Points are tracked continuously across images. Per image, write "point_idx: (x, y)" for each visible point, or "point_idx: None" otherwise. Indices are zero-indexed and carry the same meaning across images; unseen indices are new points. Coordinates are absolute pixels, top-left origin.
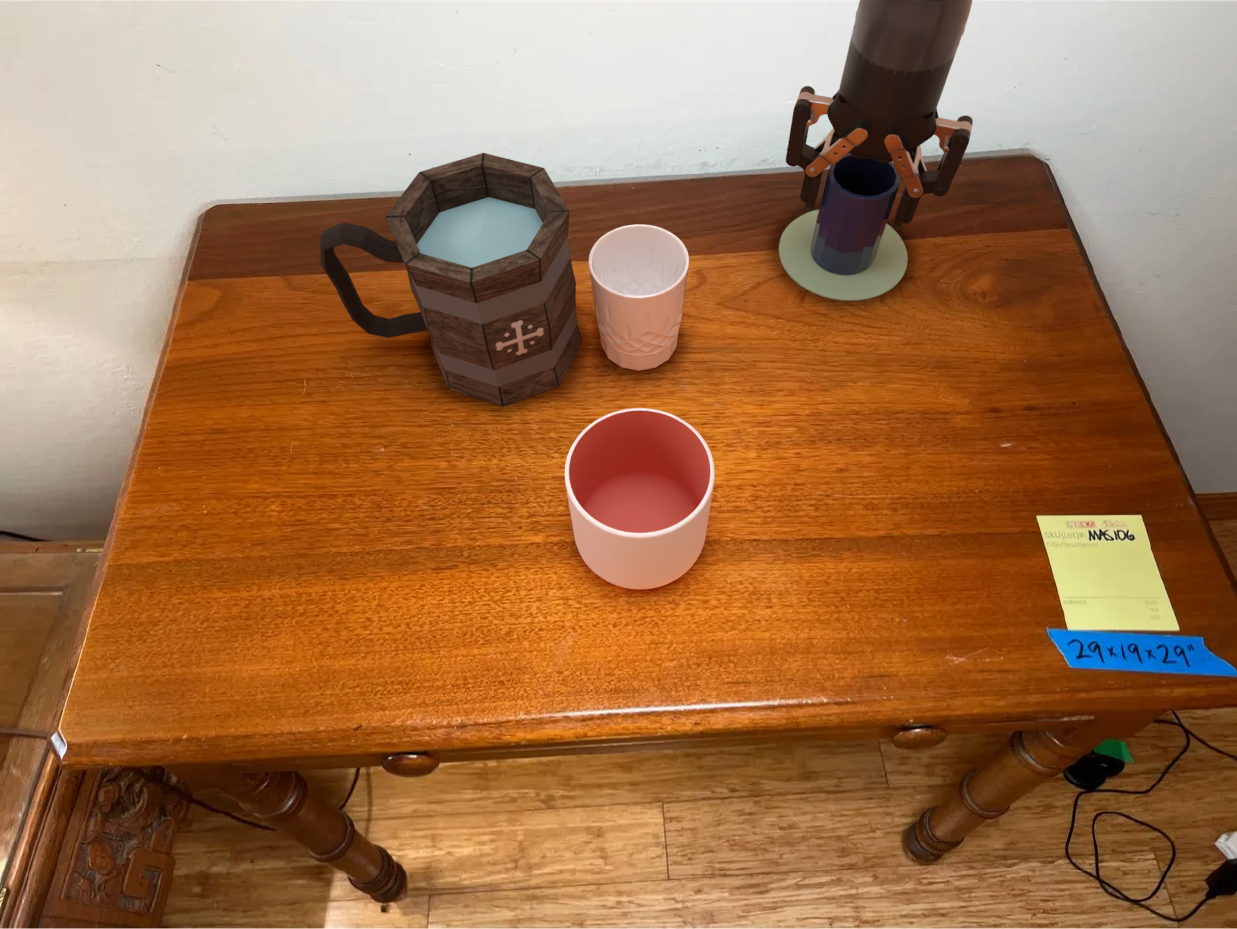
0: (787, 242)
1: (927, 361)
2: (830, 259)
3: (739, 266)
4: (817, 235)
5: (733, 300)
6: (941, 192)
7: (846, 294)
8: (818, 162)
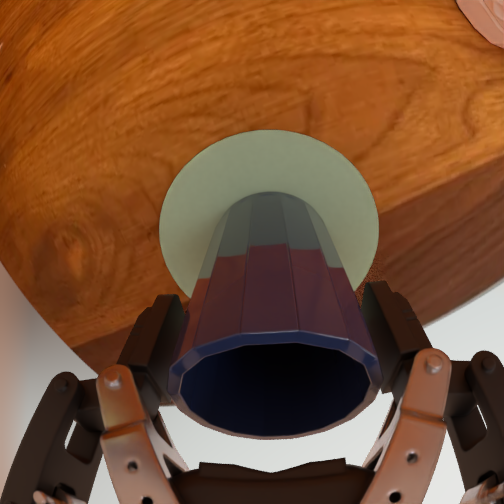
0: (366, 234)
1: (74, 88)
2: (286, 202)
3: (427, 158)
4: (331, 239)
5: (418, 79)
6: (56, 381)
7: (231, 149)
8: (433, 395)
